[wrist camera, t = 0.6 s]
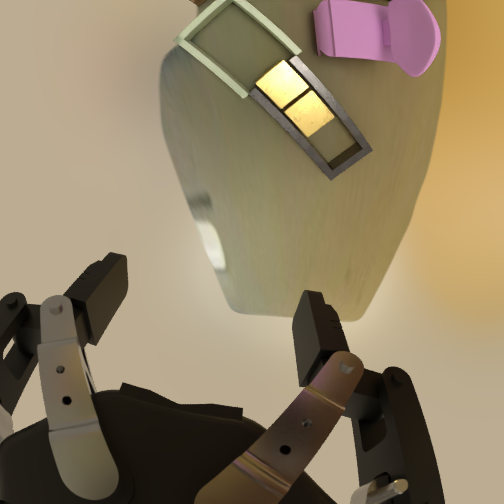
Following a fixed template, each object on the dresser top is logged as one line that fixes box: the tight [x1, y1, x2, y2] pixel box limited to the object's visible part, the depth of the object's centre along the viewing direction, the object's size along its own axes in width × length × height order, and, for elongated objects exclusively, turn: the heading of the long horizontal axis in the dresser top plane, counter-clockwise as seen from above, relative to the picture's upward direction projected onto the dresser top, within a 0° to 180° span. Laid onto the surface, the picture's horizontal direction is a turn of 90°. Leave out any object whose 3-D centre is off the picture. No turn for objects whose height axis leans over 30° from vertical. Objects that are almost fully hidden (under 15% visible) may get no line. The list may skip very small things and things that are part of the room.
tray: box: [174, 0, 302, 99], centre depth 23 cm, size 11×9×3 cm
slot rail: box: [249, 55, 373, 181], centre depth 29 cm, size 15×7×2 cm, turn 44°
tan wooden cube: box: [283, 88, 334, 137], centre depth 28 cm, size 4×4×4 cm
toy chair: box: [313, 0, 441, 77], centre depth 17 cm, size 8×9×15 cm
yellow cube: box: [256, 60, 309, 109], centre depth 26 cm, size 4×4×4 cm
